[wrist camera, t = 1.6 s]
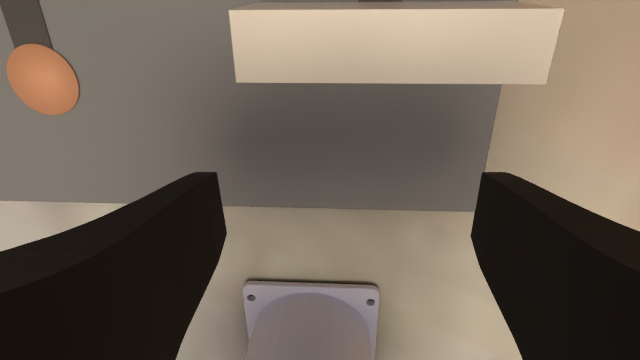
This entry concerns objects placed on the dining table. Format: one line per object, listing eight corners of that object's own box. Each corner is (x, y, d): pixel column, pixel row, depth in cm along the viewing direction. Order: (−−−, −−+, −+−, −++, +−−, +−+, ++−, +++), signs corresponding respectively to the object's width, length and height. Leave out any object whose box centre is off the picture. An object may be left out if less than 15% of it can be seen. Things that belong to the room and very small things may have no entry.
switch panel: (465, 193, 20) (477, 213, 18) (14, 183, 21) (-15, 201, 20) (543, -239, 13) (574, -272, 11) (-145, -212, 14) (-212, -238, 13)
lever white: (498, 59, 15) (545, 84, 11) (261, 58, 15) (236, 82, 12) (509, 1, 14) (564, 8, 10) (257, 2, 15) (228, 10, 11)
